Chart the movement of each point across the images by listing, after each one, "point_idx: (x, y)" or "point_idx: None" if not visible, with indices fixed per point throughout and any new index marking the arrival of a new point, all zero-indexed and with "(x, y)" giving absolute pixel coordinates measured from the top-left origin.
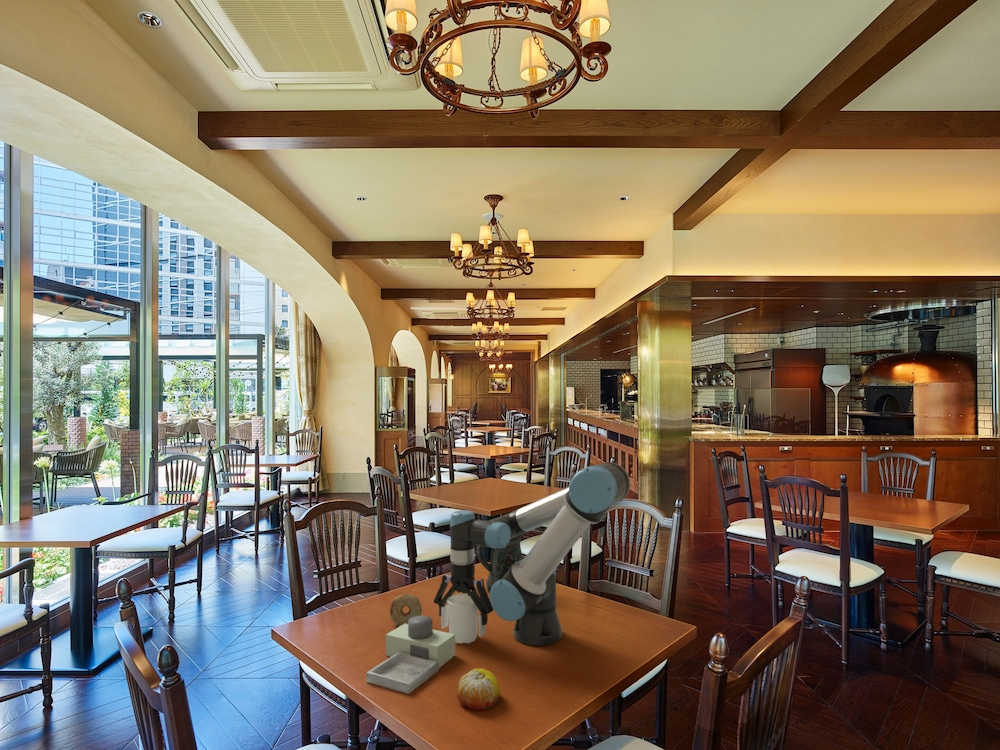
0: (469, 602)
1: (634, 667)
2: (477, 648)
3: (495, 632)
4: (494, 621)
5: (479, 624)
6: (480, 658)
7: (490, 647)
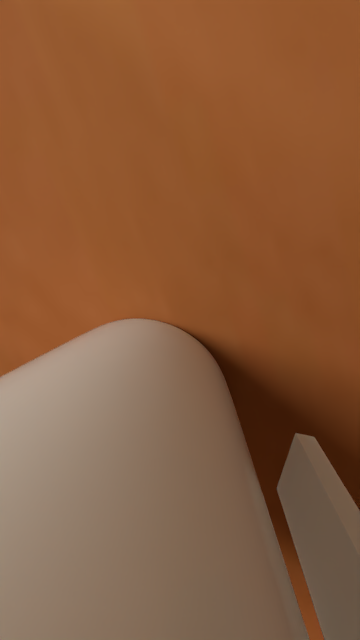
0: (8, 462)
1: None
2: (271, 500)
3: (339, 253)
4: (283, 3)
5: (317, 592)
6: None
7: (347, 477)
